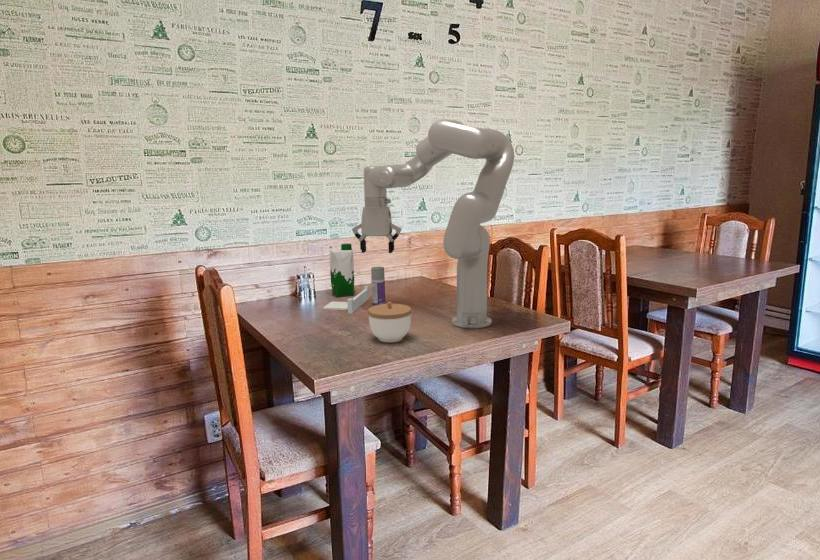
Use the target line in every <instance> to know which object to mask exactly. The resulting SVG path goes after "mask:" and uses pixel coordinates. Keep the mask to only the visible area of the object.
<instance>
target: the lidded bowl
mask: <svg viewBox="0 0 820 560" xmlns="http://www.w3.org/2000/svg"><path fill="white" fill-rule="evenodd" d="M367 315H368V324H369V328H370V330H371V333H372V334H373V335H374V337H376V339H378V341H379V342H381V343H387V344H388V343H397V342H400V341H402V340H403V338H404V337H406V335H407V334H408V332H409V330H410V327H411V323H412V308H411V306H409V305H406V304H402V303H392V302H391V301H388V302H386V303H385V304H380V305H376V306H372V305H371V306H370V307H369V308H368V309H367Z"/></svg>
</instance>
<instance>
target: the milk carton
mask: <svg viewBox="0 0 820 560" xmlns="http://www.w3.org/2000/svg"><path fill="white" fill-rule="evenodd" d="M354 267H355V265H354V250H353V249H352V243H341V244H340V248H339V247H337V248H331V249H329V272H330V273H329V275H330V284H331V290H332V294H333V296H334V297H335V298H343V297H355V268H354Z"/></svg>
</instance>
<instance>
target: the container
mask: <svg viewBox="0 0 820 560" xmlns="http://www.w3.org/2000/svg"><path fill="white" fill-rule="evenodd" d="M370 269H371V272H370V274H371V276H370V279H371V281H370V282H371V285H370V286H371V307H372V306H376V305H380V304H386V286H385V285H386V280H385V267H384V266H372V267H371V268H370Z"/></svg>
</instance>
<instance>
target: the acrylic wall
mask: <svg viewBox="0 0 820 560" xmlns="http://www.w3.org/2000/svg"><path fill="white" fill-rule="evenodd" d="M369 300H370V286H369V285H364V286H363V290H362V291H360V292H359V293H357V295H354V296H353V298H347V300H346V302H347V304H348V310H347V314H348V315H349V314H354V312H355V311H357V310H358V309H359V308H361V306H362V305H364V304H365V303H366V302H368V301H369Z"/></svg>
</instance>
